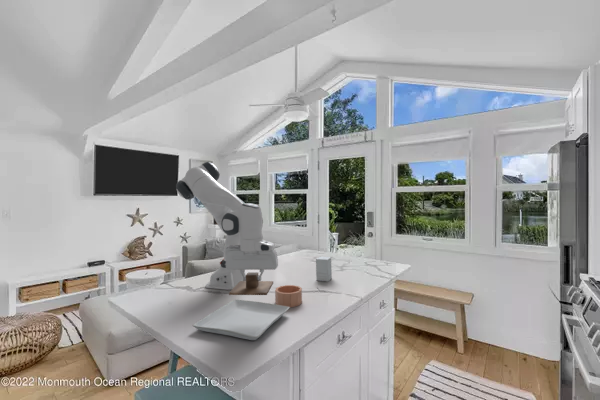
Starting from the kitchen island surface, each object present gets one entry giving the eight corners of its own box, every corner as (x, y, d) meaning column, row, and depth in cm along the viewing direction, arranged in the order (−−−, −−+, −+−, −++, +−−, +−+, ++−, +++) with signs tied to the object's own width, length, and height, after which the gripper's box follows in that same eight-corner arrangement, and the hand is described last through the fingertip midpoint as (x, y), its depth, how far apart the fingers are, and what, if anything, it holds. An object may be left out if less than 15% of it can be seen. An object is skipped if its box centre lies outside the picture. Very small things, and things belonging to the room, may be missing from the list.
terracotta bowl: (273, 306, 126) (273, 293, 126) (278, 297, 138) (278, 285, 137) (300, 307, 124) (300, 293, 124) (302, 297, 136) (302, 285, 136)
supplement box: (332, 278, 168) (331, 257, 168) (327, 281, 161) (327, 259, 161) (320, 277, 171) (320, 256, 171) (315, 280, 165) (315, 258, 164)
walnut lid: (229, 294, 104) (228, 279, 104) (239, 283, 118) (239, 269, 118) (266, 295, 103) (266, 279, 103) (273, 283, 117) (272, 269, 117)
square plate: (235, 306, 128) (234, 298, 128) (290, 315, 118) (290, 305, 118) (191, 334, 102) (191, 323, 102) (257, 347, 92) (257, 335, 92)
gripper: (222, 246, 108) (223, 283, 108) (275, 246, 106) (276, 283, 107) (228, 243, 114) (228, 278, 114) (278, 243, 113) (279, 278, 113)
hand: (252, 280), depth 110 cm, fingers closed on walnut lid, 4 cm apart
